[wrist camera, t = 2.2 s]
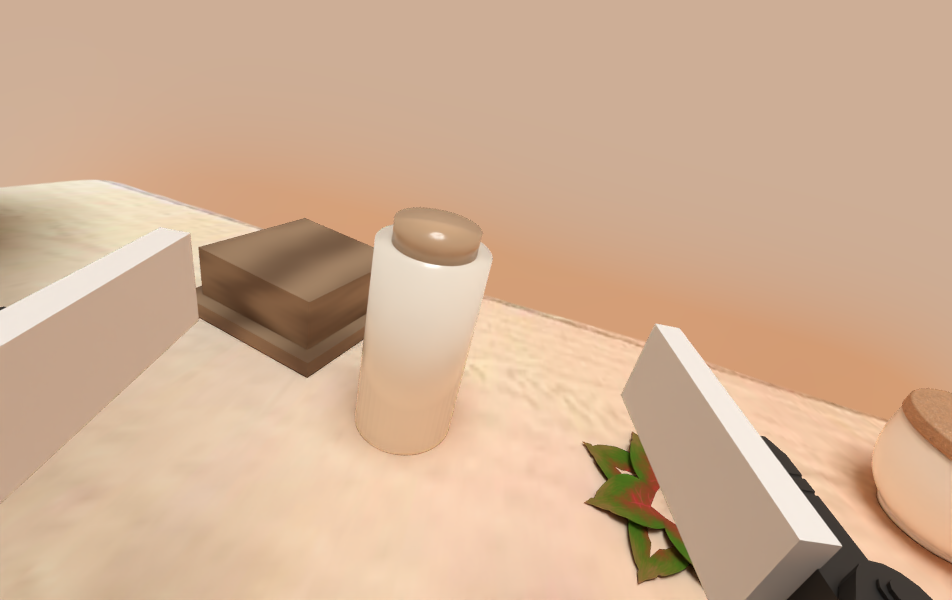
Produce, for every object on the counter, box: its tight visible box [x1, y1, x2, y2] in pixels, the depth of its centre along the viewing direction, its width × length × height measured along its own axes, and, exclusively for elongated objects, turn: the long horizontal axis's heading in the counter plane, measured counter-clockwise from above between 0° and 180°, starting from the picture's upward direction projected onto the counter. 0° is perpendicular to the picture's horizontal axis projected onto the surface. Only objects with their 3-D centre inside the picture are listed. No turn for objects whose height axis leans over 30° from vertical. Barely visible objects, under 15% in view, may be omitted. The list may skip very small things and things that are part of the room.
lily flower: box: [583, 432, 693, 584], centre depth 26 cm, size 12×12×5 cm
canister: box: [355, 208, 493, 455], centre depth 25 cm, size 6×6×13 cm
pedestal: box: [196, 218, 374, 377], centre depth 35 cm, size 12×12×5 cm
